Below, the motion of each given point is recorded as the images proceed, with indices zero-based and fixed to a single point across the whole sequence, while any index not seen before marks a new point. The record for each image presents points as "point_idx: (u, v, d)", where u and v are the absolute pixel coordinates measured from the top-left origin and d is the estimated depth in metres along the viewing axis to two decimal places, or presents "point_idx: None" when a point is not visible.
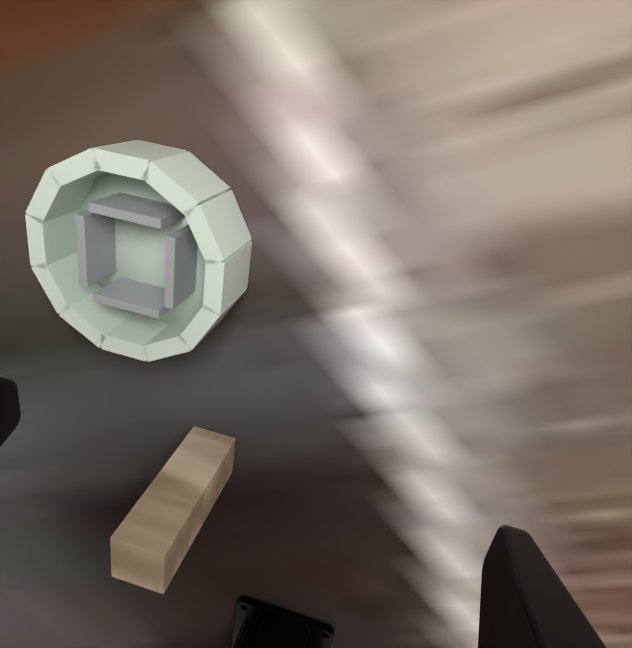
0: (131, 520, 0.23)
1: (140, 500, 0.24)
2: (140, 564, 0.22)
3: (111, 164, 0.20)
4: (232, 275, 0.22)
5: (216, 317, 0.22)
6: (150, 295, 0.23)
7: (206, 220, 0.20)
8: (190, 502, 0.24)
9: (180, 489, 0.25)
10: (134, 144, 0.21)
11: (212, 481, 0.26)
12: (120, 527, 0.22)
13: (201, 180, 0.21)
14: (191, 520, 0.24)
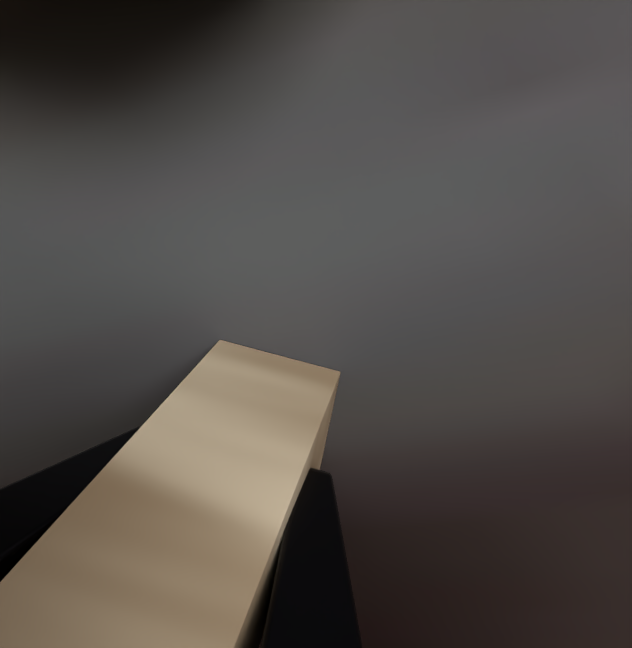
0: None
1: (1, 593, 0.05)
2: None
3: None
4: None
5: None
6: None
7: None
8: (228, 599, 0.06)
9: (180, 536, 0.06)
10: None
11: (294, 500, 0.07)
12: None
13: None
14: None
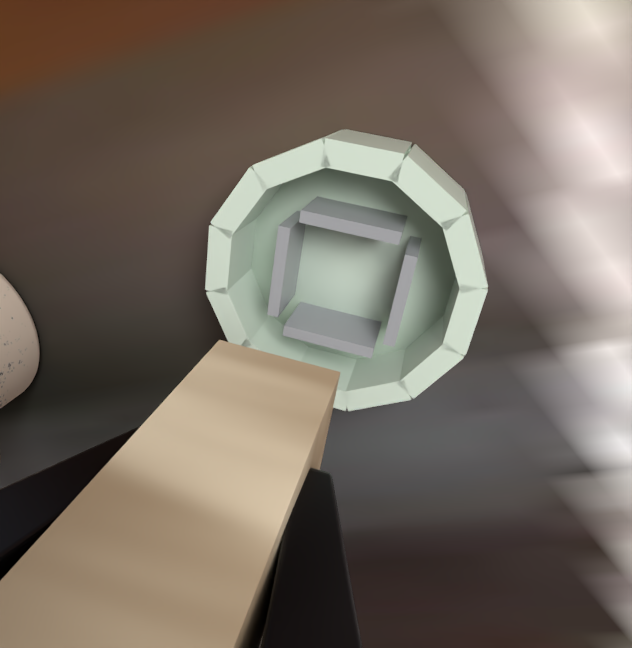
0: None
1: None
2: None
3: (347, 160, 0.15)
4: None
5: (458, 359, 0.17)
6: (349, 326, 0.19)
7: (473, 234, 0.15)
8: (226, 601, 0.05)
9: (178, 537, 0.06)
10: (352, 134, 0.17)
11: (294, 501, 0.07)
12: None
13: (446, 181, 0.16)
14: None
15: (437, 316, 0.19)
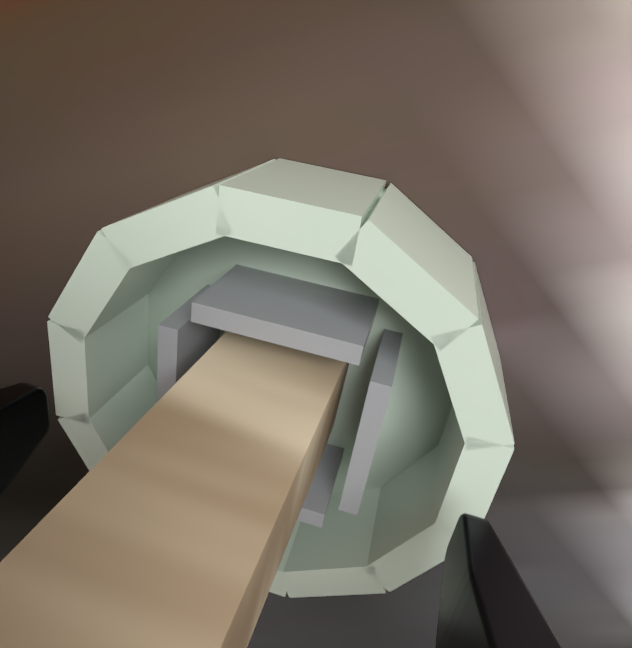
0: (40, 561, 0.06)
1: (88, 481, 0.07)
2: None
3: (261, 224, 0.08)
4: None
5: None
6: None
7: (490, 359, 0.08)
8: (266, 497, 0.07)
9: (225, 452, 0.07)
10: (285, 170, 0.10)
11: (316, 436, 0.09)
12: None
13: (442, 251, 0.09)
14: (266, 559, 0.07)
15: (428, 446, 0.12)
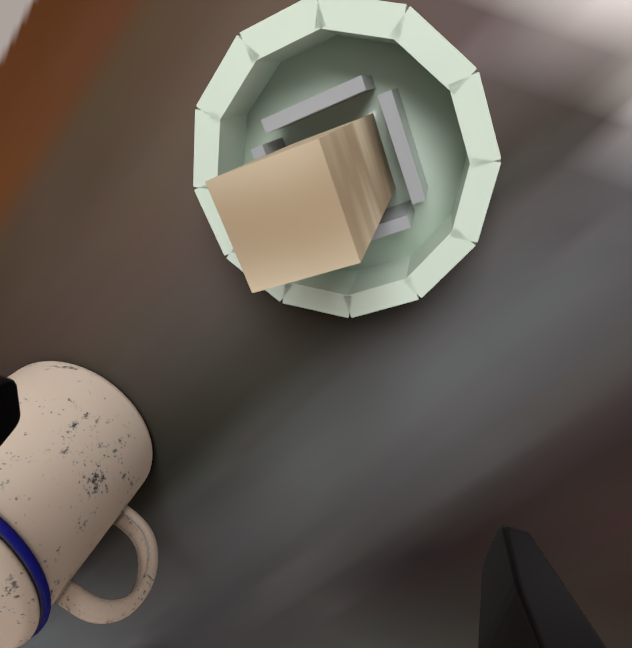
0: (238, 167, 0.11)
1: (247, 164, 0.12)
2: (286, 209, 0.10)
3: (270, 38, 0.14)
4: None
5: (496, 167, 0.14)
6: None
7: (428, 23, 0.13)
8: (336, 129, 0.12)
9: (310, 138, 0.13)
10: None
11: (362, 132, 0.14)
12: None
13: None
14: (351, 153, 0.12)
15: (461, 157, 0.16)
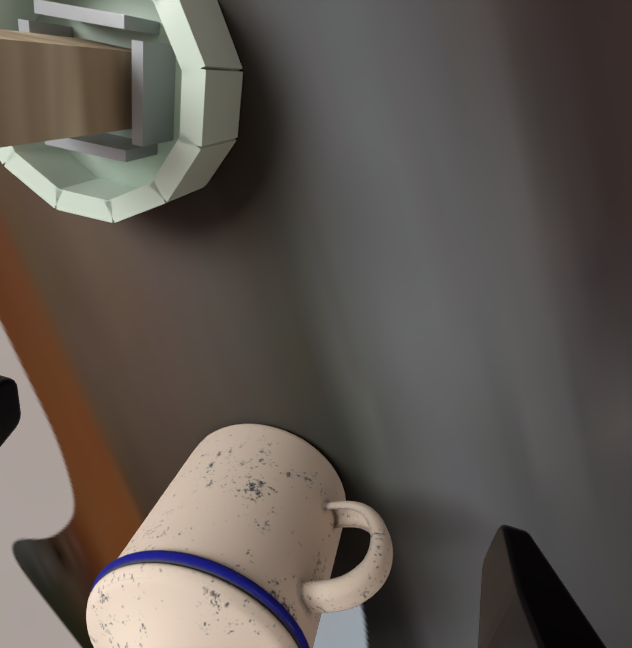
0: None
1: None
2: None
3: None
4: None
5: None
6: None
7: None
8: None
9: None
10: None
11: (36, 34, 0.16)
12: None
13: None
14: None
15: None
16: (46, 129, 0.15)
